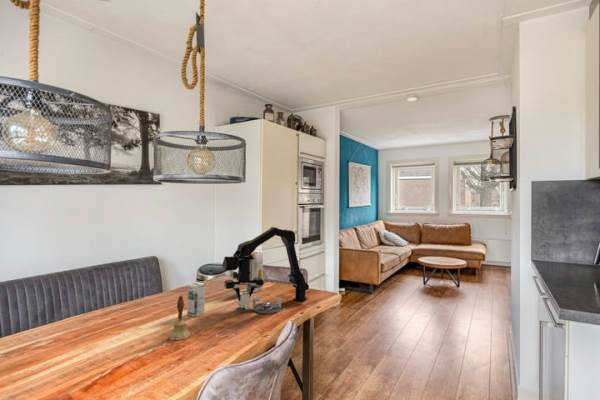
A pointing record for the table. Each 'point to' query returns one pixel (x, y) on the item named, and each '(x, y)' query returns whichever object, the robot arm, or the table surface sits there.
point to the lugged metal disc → (266, 306)
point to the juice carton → (256, 269)
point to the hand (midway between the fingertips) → (243, 300)
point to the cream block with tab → (244, 300)
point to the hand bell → (180, 324)
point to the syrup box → (196, 299)
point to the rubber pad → (243, 309)
